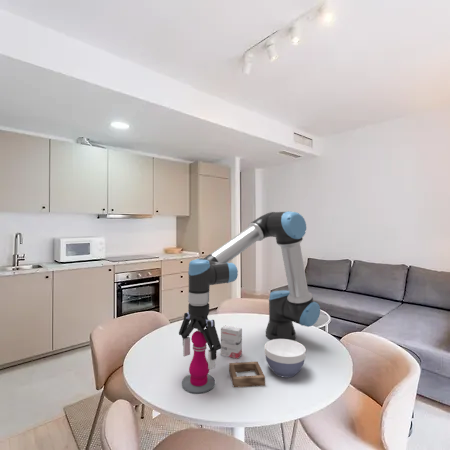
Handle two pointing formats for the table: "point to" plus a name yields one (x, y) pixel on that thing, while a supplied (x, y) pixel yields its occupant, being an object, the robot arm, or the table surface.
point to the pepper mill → (198, 360)
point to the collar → (246, 380)
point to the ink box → (231, 341)
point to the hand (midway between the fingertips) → (198, 361)
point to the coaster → (198, 389)
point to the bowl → (285, 356)
